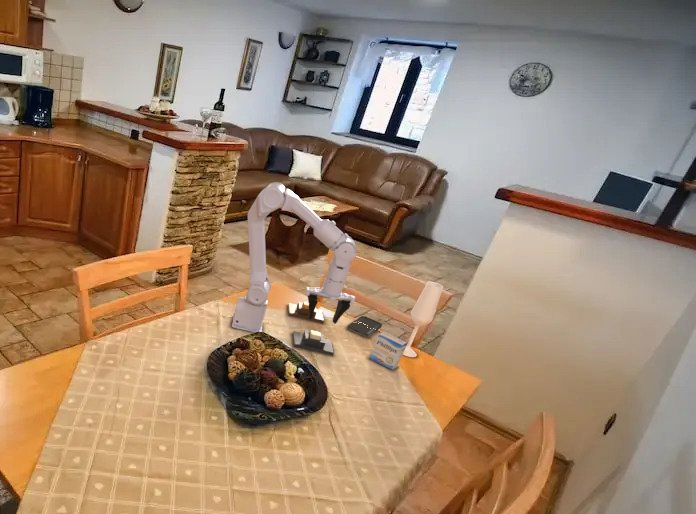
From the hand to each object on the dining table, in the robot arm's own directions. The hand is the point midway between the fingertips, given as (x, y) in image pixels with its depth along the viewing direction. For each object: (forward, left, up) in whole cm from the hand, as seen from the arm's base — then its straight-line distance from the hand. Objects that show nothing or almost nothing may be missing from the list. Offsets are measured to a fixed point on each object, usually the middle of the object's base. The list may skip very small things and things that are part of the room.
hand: (321, 320), depth 152 cm
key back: (-2, +22, -6) cm, 23 cm away
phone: (+19, +22, -9) cm, 31 cm away
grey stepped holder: (-1, -1, -9) cm, 9 cm away
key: (-1, -1, -6) cm, 6 cm away
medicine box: (+21, -2, -9) cm, 23 cm away
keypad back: (-2, +22, -9) cm, 24 cm away
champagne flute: (+31, +10, -9) cm, 34 cm away
